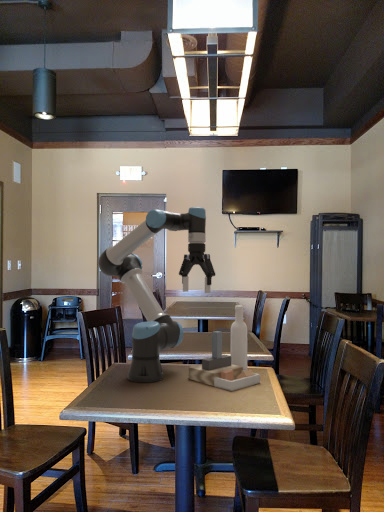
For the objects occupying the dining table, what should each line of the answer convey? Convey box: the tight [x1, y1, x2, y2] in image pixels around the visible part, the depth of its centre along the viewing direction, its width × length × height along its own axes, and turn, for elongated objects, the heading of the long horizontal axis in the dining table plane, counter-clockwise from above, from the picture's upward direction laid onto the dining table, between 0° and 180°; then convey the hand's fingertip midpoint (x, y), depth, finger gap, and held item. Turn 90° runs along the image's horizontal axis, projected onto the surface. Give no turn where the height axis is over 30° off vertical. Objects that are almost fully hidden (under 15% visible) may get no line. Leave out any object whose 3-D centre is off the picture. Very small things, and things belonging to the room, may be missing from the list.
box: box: [213, 370, 261, 392], centre depth 170 cm, size 9×18×4 cm, turn 133°
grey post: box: [201, 330, 231, 371], centre depth 178 cm, size 4×14×15 cm, turn 133°
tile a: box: [221, 370, 234, 381], centre depth 169 cm, size 5×5×2 cm
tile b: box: [236, 368, 255, 379], centre depth 171 cm, size 5×5×2 cm
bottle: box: [229, 304, 248, 371], centre depth 193 cm, size 8×8×30 cm
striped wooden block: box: [188, 363, 243, 387], centre depth 178 cm, size 15×18×5 cm
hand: (196, 292), depth 180 cm, fingers open, 13 cm apart
